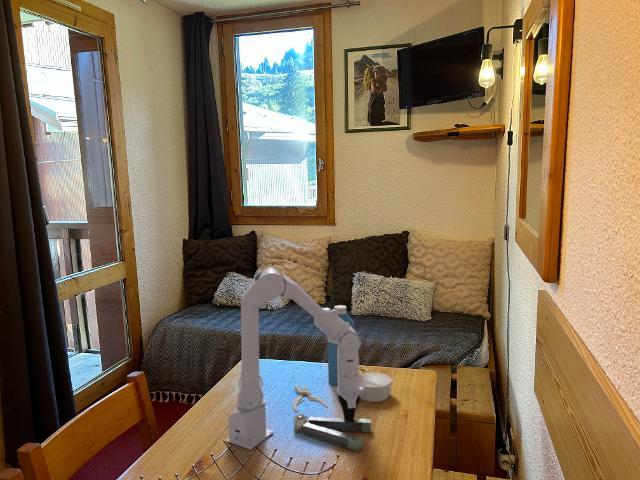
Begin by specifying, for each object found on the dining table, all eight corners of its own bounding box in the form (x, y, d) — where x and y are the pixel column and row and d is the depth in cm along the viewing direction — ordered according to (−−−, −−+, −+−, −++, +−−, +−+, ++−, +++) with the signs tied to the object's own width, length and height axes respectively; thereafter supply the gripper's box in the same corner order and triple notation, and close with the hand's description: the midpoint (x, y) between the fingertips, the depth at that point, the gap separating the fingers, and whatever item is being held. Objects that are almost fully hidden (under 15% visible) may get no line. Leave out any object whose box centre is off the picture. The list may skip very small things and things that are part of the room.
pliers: (294, 408, 136) (284, 387, 151) (294, 413, 136) (285, 391, 151) (327, 403, 139) (315, 383, 153) (328, 408, 139) (315, 387, 153)
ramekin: (353, 403, 141) (353, 386, 141) (357, 387, 152) (357, 371, 152) (391, 405, 139) (391, 388, 139) (392, 389, 150) (392, 373, 150)
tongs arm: (370, 432, 124) (370, 422, 123) (308, 428, 126) (308, 419, 126) (371, 428, 126) (371, 419, 125) (310, 424, 128) (310, 415, 128)
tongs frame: (358, 452, 115) (358, 438, 114) (290, 431, 126) (289, 418, 125) (366, 444, 118) (366, 430, 118) (298, 425, 129) (298, 411, 129)
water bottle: (348, 373, 163) (347, 302, 161) (360, 383, 155) (359, 308, 152) (323, 377, 160) (321, 305, 157) (334, 388, 151) (332, 311, 149)
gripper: (367, 383, 119) (368, 434, 120) (359, 361, 133) (360, 408, 135) (339, 384, 118) (340, 436, 120) (334, 363, 133) (335, 409, 134)
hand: (349, 421), depth 127 cm, fingers closed
